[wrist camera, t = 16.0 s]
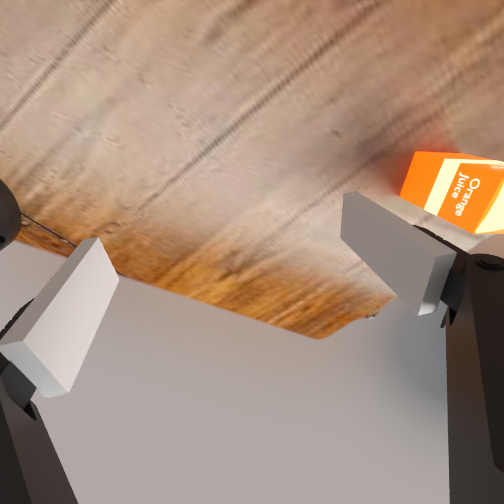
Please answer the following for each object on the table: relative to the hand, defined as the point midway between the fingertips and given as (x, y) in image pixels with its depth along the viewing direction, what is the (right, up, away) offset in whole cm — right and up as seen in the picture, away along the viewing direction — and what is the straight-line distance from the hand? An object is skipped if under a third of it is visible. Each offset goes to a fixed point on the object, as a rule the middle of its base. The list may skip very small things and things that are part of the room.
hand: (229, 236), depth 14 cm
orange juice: (+31, +12, +30) cm, 45 cm away
